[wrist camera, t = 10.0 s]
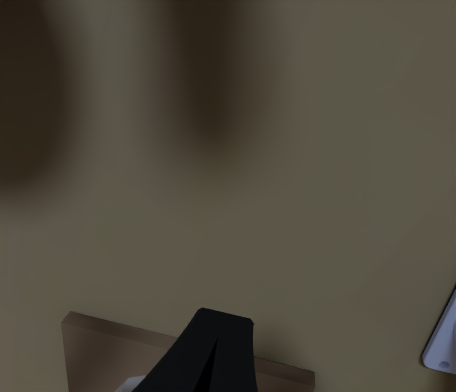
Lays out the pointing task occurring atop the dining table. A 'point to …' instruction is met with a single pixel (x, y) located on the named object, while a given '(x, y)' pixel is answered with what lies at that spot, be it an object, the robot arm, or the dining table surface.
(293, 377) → the collar
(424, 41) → the dining table surface
